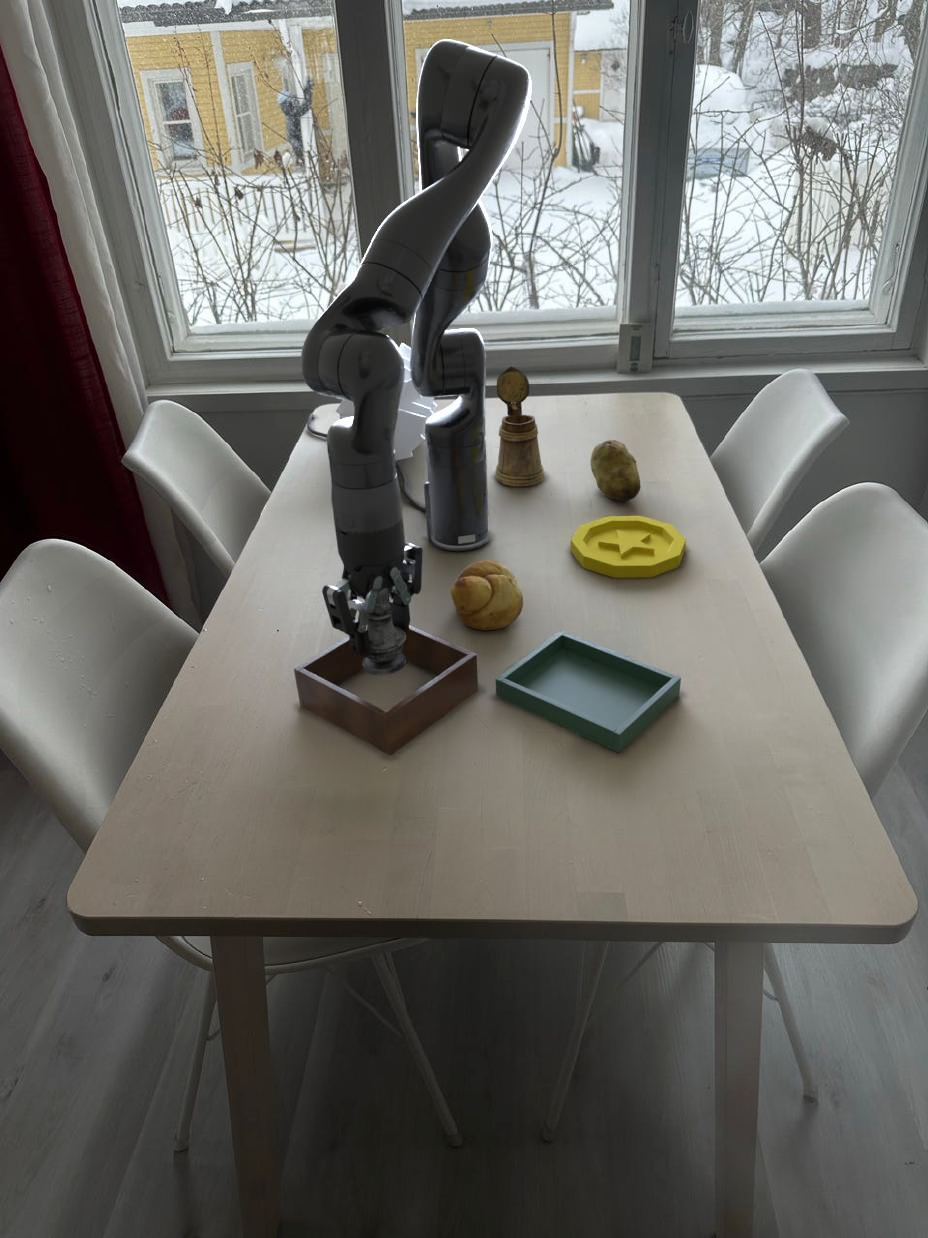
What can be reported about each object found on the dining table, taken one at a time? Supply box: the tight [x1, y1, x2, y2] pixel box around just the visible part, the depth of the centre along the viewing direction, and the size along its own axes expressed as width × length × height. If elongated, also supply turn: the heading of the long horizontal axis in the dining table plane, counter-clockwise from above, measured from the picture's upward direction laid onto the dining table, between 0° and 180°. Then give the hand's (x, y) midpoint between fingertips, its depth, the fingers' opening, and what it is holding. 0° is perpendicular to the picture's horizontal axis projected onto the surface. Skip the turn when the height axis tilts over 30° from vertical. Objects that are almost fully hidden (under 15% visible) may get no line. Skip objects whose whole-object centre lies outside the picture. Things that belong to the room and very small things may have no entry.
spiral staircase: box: [335, 342, 438, 461], centre depth 182 cm, size 18×18×25 cm
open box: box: [293, 624, 479, 757], centre depth 112 cm, size 16×16×6 cm
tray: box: [495, 630, 682, 753], centre depth 112 cm, size 18×14×3 cm
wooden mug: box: [494, 366, 545, 487], centre depth 167 cm, size 9×14×18 cm, turn 6°
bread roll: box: [450, 559, 524, 631], centre depth 128 cm, size 13×10×8 cm
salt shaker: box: [362, 588, 407, 676], centre depth 108 cm, size 6×6×12 cm
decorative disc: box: [570, 515, 687, 579], centre depth 143 cm, size 17×18×2 cm
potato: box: [589, 439, 642, 502], centre depth 161 cm, size 8×13×8 cm, turn 175°
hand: (381, 641), depth 110 cm, fingers closed on salt shaker, 6 cm apart
